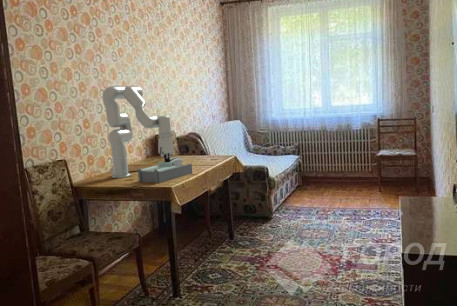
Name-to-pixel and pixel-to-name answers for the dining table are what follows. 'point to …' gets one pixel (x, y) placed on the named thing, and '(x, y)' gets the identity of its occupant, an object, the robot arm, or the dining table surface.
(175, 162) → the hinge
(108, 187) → the dining table surface
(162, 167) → the lid
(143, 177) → the housing
